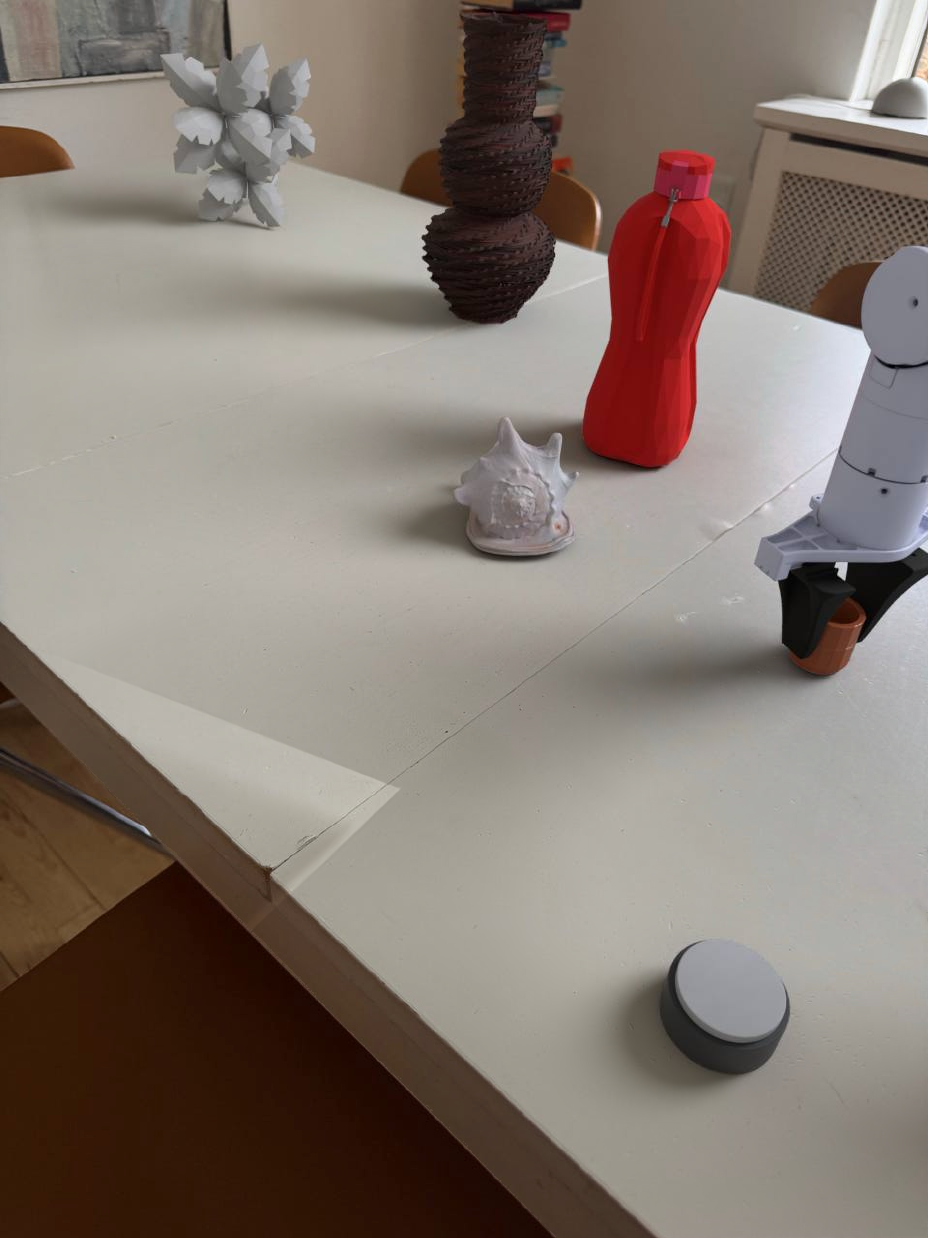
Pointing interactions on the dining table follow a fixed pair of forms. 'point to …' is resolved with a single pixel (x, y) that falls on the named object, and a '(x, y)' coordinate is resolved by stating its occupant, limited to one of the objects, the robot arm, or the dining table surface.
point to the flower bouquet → (239, 129)
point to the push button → (724, 1006)
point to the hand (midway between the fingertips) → (822, 641)
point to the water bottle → (657, 314)
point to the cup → (835, 640)
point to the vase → (494, 176)
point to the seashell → (517, 497)
